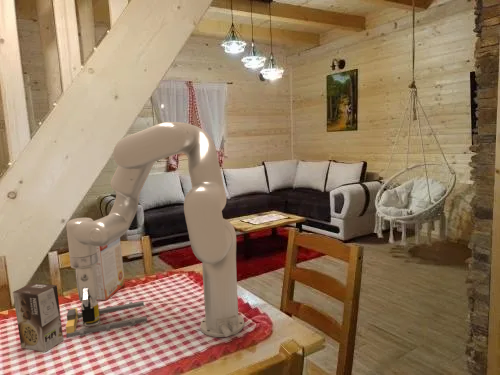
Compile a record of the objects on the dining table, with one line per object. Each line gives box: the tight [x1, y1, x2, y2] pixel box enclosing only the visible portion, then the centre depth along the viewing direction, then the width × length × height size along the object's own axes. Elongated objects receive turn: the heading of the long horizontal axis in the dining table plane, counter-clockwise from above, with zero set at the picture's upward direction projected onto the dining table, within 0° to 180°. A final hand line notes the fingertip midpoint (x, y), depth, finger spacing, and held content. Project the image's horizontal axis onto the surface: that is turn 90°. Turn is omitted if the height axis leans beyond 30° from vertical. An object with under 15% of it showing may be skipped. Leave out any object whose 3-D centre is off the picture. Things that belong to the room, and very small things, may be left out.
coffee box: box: [12, 282, 64, 353], centre depth 100 cm, size 9×6×16 cm
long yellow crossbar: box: [65, 307, 79, 334], centre depth 110 cm, size 12×2×4 cm, turn 21°
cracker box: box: [95, 237, 126, 301], centre depth 133 cm, size 14×6×21 cm, turn 172°
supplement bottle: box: [80, 296, 101, 327], centre depth 111 cm, size 5×5×8 cm
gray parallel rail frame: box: [65, 300, 148, 339], centre depth 114 cm, size 15×22×1 cm
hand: (90, 314), depth 112 cm, fingers open, 9 cm apart
